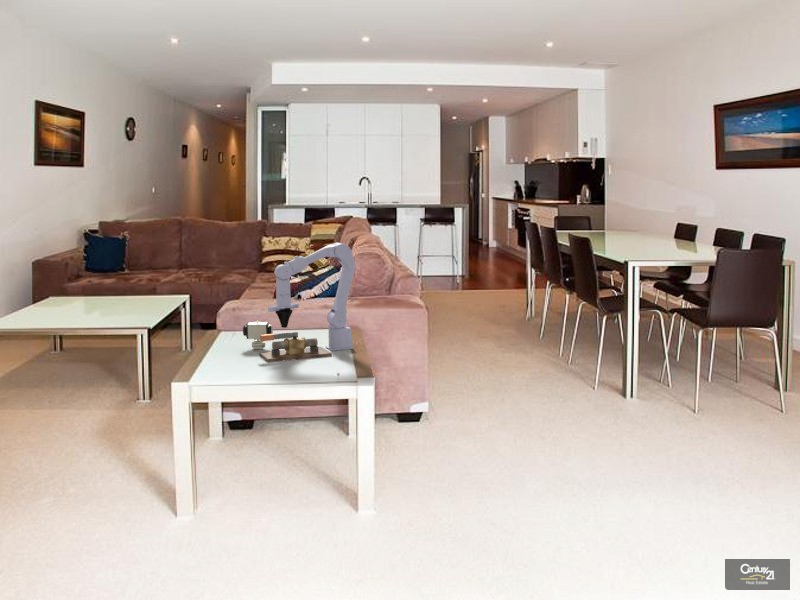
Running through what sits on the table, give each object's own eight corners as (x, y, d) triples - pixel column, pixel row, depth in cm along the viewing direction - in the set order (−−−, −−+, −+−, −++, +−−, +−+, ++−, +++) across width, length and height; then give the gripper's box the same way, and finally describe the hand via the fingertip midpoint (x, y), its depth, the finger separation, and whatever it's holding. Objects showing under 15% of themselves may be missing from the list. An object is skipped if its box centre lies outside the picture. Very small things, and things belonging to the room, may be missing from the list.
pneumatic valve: (271, 349, 334) (270, 321, 332) (243, 350, 334) (242, 321, 332) (273, 347, 339) (272, 319, 337) (246, 347, 339) (245, 319, 337)
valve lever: (296, 336, 323) (296, 331, 322) (298, 337, 321) (298, 332, 320) (260, 340, 316) (259, 334, 316) (262, 341, 314) (261, 335, 313)
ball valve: (320, 349, 334) (320, 332, 333) (331, 356, 321) (331, 337, 320) (259, 355, 323) (258, 337, 322) (267, 362, 311) (267, 343, 310)
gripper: (275, 297, 317) (276, 330, 319) (303, 293, 328) (304, 325, 330) (264, 295, 322) (265, 328, 324) (292, 291, 333) (292, 324, 334)
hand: (284, 327), depth 327 cm, fingers closed
